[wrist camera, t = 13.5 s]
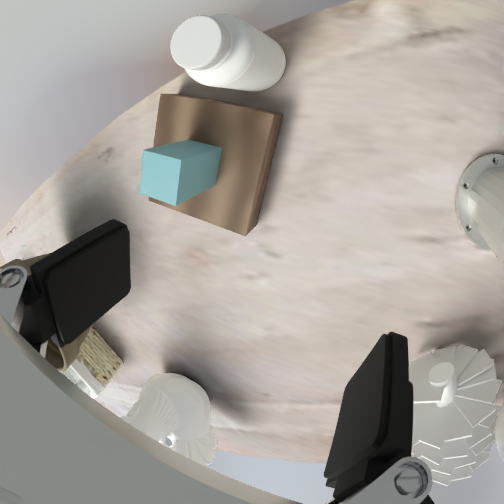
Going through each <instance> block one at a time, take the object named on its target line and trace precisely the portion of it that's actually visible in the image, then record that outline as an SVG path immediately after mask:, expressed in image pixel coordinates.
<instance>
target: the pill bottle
mask: <svg viewBox="0 0 504 504" xmlns="http://www.w3.org/2000/svg"><path fill="white" fill-rule="evenodd" d="M170 48H171V54H172V57H173V59H174V60H175V61H176V63H177V64H178V65H179V66H181V67H183V68H184V69H185V70H186V72H187V73H188V75H189V76H190V77H191V78H193V79H194V80H195V81H197V82H199V83H201V84H203V85H207V86H212V87H221V88H230V89H238V90H245V91H262V90H265V89H268V88H270V87H272V86H273V85H274V84H276V83H277V82H278V81H279V80H280V78H281V77H282V75H283V73H284V70H285V66H286V59H285V54H284V52H283V50H282V48H281V47H280V45H279V44H278V43H277V42H276V41H275V40H273V39H272V38H270V37H269V36H268V35H266V34H265V33H263V32H262V31H260V30H258V29H257V28H255V27H254V26H252V25H251V24H249V23H247V22H246V21H244V20H243V19H241V18H239V17H236V16H233V15H228V14H217V15H212V16H205V15H200V16H194V17H192V18H189V19H188V20H186V21H184V22H183V23H182V24H181V25H180V26H179V27H178V28H177V29H176V31H175V32H174V34H173V37H172V39H171V46H170Z"/></svg>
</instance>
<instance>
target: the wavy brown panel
mask: <svg viewBox="0 0 504 504" xmlns="http://www.w3.org/2000/svg"><path fill="white" fill-rule="evenodd" d="M282 117H283V115H282V114H278V113H274V112H270V111H266V110H262V109H257V108H253V107H249V106H244V105H239V104H234V103H229V102H224V101H219V100H213V99H207V98H201V97H195V96H188V95H181V94H161V96H160V102H159V108H158V115H157V123H156V130H155V138H154V147H157V146H162V145H166V144H170V143H175V142H179V141H184V140H192V141H196V142H201V143H205V144H209V145H213V146H217V147H220V148H222V151H221V156H220V162H219V167H218V173H217V179H216V184H215V186H213V187H211V188H209V189H207V190H205V191H203V192H201V193H199V194H197V195H195V196H194V197H192V198H190V199H188V200H186V201H184V202H182V203H181V204H179V205H177V206H174V205H171V204H168V203H166V202H163V201H160V200H157V199H154V198H152V197H149V201H152V202H154V203H157V204H160V205H163V206H165V207H168V208H171V209H173V210H176V211H179V212H182V213H184V214H187V215H190V216H192V217H195V218H198V219H201V220H203V221H206V222H209V223H211V224H214V225H217V226H219V227H222V228H225V229H227V230H230V231H233V232H236V233H238V234H241V235H244V236H246V235H247V234H248V233H249V232H250V231H251V230H252V229H253V228H254V227H255V226H256V223H257V219H258V215H259V211H260V207H261V203H262V199H263V195H264V190H265V186H266V182H267V178H268V174H269V170H270V166H271V162H272V158H273V153H274V149H275V145H276V141H277V137H278V133H279V129H280V125H281V121H282Z"/></svg>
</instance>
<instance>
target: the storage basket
mask: <svg viewBox="0 0 504 504" xmlns="http://www.w3.org/2000/svg"><path fill="white" fill-rule="evenodd" d="M122 364H123V361H122V360H121V358H120V357H119V356H118V355H117V354H116V353H115V352H114V351H113V350H112V349H111V347H110V346H109V345H108V344H107V343H106V341H105V340H104V339H103V338H102V337H101V336H100V334H99V333H98V332H97V331H96V330H95V329H94V328H91V330H90V331H89V333H88V335H87V336H86V338H85V340H84V341H83V343H82V345H81V346H80V353H79V356H78V357H77V358H76V360H75V361H74V362H73V363H72V364H71V365H70V366H69V368H68V369H67V371H68V372H69V373H70V374H71V375H72V376H73V377H74V379H75V380H76V381H77V384H76V386H77V387H79V388H80V389H81V390H82V391H84V392H85V393H86V394H88V395H89V396H90V397H91V398H96V397H98V396H99V395H100V394H101V392H103V391H104V389H105V388H106V386H107V384H108V383H109V382H110V380H111V379H112V378H113V376H114V375H115V374H116V373H117V371H118V370H119V368H120V367H121V366H122ZM59 372H61V373H62V374H63V372H64V371H59ZM63 375H64V374H63ZM64 376H65V375H64ZM65 377H66V376H65Z"/></svg>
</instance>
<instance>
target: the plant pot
mask: <svg viewBox="0 0 504 504" xmlns="http://www.w3.org/2000/svg"><path fill="white" fill-rule="evenodd" d="M49 254H51V253H49ZM49 254H45V255H41V256H37V257H34V258H30V259H27V260H23V261H22V260H20V259H15V260H13V261H11V262H9V263H7V264H5V265H3V266H2V267H0V271H1V270H2V269H4V268H6V267H9V266H15V265H17V266H21V267H24V268H25V269H26V270H27V274H28V276H29V275H31V271H30V266H31V265H33V264H34V263H36V262H38V261H39V260H41V259H43V258H44V257H46V256H48V255H49ZM93 325H94V323H93V324H92V325H91V326H90V327H89V328H88V329H87V330H85V331H84V332H83V333H82V334H81V335H80V336H79V337H77V338H76V339H75V340H74V341H73V342H72V343H70V344H66V345H65V346H64V347H63V348H60V347H58V346H57V345H56V344H55V343H54V342H53V341H52V339H51V337H50V338H49V339H48V341H47V348H46V354H45V359H46V360H47V361H48V362H49V363H50V364H52V365H53V366H54V367H55V368H56V369H57V370H58V371H66V370H67V369H68V368H69V366H70V365H71V364H72V363H73V362H74V361H75V360H76V358H77V357H78V356H79V353H80V346H81V345H82V343H83V341H84V340H85V338H86V336H87V335H88V333H89V331H90V330H91V328H92V326H93Z"/></svg>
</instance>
